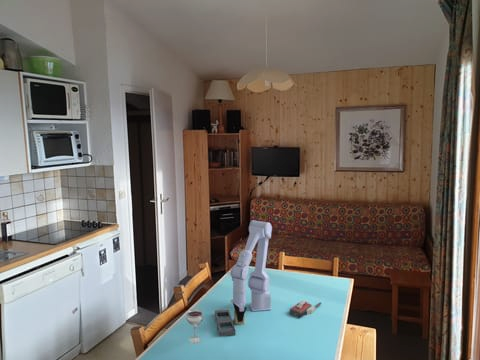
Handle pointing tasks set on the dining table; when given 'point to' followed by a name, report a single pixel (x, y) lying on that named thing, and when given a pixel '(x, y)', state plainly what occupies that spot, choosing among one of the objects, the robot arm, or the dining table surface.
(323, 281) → the dining table surface
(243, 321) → the nut block
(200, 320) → the wineglass
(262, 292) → the robot arm
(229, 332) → the grey compartment tray
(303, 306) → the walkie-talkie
